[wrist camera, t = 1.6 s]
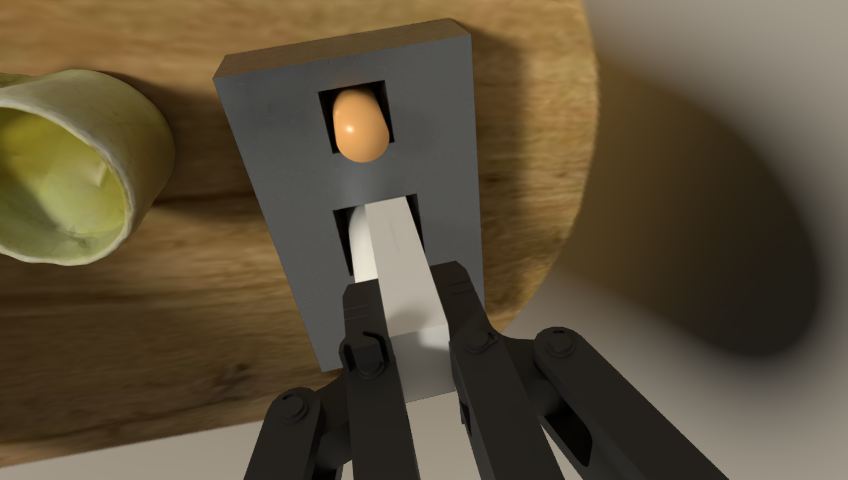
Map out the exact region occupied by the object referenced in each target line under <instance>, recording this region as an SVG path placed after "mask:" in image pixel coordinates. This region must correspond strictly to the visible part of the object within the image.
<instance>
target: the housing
mask: <svg viewBox="0 0 848 480" xmlns="http://www.w3.org/2000/svg"><path fill="white" fill-rule="evenodd" d="M213 81H214V84H215V87H216V90H217V92H218V95H219V98H220V100H221V103H222V106H223V108H224V111H225V114H226V116H227V119H228V122H229V124H230V127H231V130H232V132H233V135H234V138H235V140H236V143H237V146H238V148H239V151H240V154H241V156H242V159H243V162H244V165H245V167H246V170H247V173H248V175H249V178H250V181H251V183H252V186H253V189H254V191H255V194H256V197H257V199H258V202H259V205H260V207H261V210H262V213H263V215H264V218H265V221H266V223H267V226H268V229H269V231H270V234H271V237H272V240H273V242H274V245H275V248H276V250H277V253H278V256H279V258H280V261H281V264H282V266H283V269H284V272H285V274H286V277H287V280H288V282H289V285H290V288H291V290H292V293H293V296H294V298H295V301H296V304H297V307H298V309H299V312H300V315H301V317H302V320H303V323H304V325H305V328H306V331H307V333H308V336H309V339H310V341H311V344H312V347H313V349H314V352H315V355H316V357H317V360H318V363H319V365H320V368H321V371H322V372H326V371H330V370H334V369H338V368H343V366H342V362H341V359H340V356H339V353H338V351H339V346H340V343H341V342H342V340H343V339H344V338H345V337H346V336H345V324H344V312H343V311H344V310H343V300H342V296H343V294H344V292H345V290H346V288H347V285H349V284H353V283H355V277H354V269H353V261H352V254H351V246H350V239H349V237H345V235H344V231H343V227H342V223H341V219H340V215H339V211H338V209H342V208H347V207H352V206H357V205H362V204H367V203H371V202H376V201H381V200H386V199H391V198H396V197H401V196H406V195H409V196H410V203H411V209H412V216H413V221H414V224H415V227H416V230H417V233H418V236H419V239H420V242H421V245H422V248H423V251H424V254H425V257H426V260H427V263H428V266H432V265H437V264H442V263H446V262H451V261H455V260H456V261H457V262H458V263H460V264H461V265H462V266H463V267H464V268H466V270H467V272H468V274H469V276H470V279H471V282H472V283H473V286H474V288H475V291H476V292H477V295H478V297H479V299H480V302H481V304H482V306H483V309H484V311H485V300H484V280H483V261H482V241H481V221H480V201H479V181H478V161H477V142H476V122H475V102H474V82H473V62H472V43H471V34H470V33H468V32H467V31H466V30H464V29H463V28H462V27H460V26H459V25H458V24H456V23H455V22H454V21H452V20H451V19H450V18H446V19H440V20H434V21H428V22H422V23H416V24H410V25H404V26H398V27H392V28H386V29H380V30H374V31H368V32H362V33H356V34H350V35H344V36H338V37H332V38H326V39H320V40H314V41H308V42H302V43H296V44H290V45H284V46H278V47H272V48H266V49H260V50H254V51H248V52H242V53H236V54H230V55H225V57H224V59H223V61H222V63H221V64H220V66H219V68H218V70H217V71H216V73H215V75H214V77H213ZM375 81H379V87H380V93H381V99H382V105H383V111H384V114H382V115H383V118H384V120H385V123H386V126H387V128H388V132H389V143H388V146H387V148H386V150H385V151H384V153H383V154H382V155H381V156H380V157H378V158H377V159H375V160H373V161H370V162H355V161H352V160H350V159H348V158H347V157H345V156H344V155H343V154H342V153H341V152H340V150H339V148H338V146H337V142H336V135H335V128H334V123H332V124H329V120H328V116H327V112H326V108H325V103H324V99H323V95H322V91H324V90H329V89H335V88H341V87H346V86H352V85H358V84H363V83H369V82H375Z"/></svg>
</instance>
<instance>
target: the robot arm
mask: <svg viewBox="0 0 848 480" xmlns="http://www.w3.org/2000/svg"><path fill="white" fill-rule="evenodd" d="M364 205H365V210H366V215H367V221H368V226H369V232H370V237H371V242H372V248H373V253H374V259H375V264H376V269H377V275H378V278H376V279H372V280H367V281H362V282H358V283H353V284H349V285H347V288H346V290H345V292H344V294H343V296H342V300H343V310H344V311H343V312H344V324H345V336H346V337H345V338H344V339H343V340H342V342H341V343H340V346H339V351H338V353H339V356H340V359H341V362H342V366H343V369H344V370H343V372H342V373H341V375H340V376H339V377H338V378H337V379H335V380H334V381H333V382H331V383H330V384H328V385H327V386H325V387H323V388H321V389H319V390H317V391H315V392H314V391H313V390H311V389H310V388H303V387H298V388H293V389H290V390H288V391H286V392H284V393H282V394H280V395H279V396H278V397H277V398H276V399H275V400H274V401H273V402H272V404H271V405H270V407H269V409H268V411H267V413H266V416H265V419H264V422H263V425H262V428H261V431H260V434H259V437H258V439H257V442H256V445H255V448H254V451H253V454H252V457H251V459H250V462H249V465H248V468H247V471H246V474H245V477H244V480H341V477H342V471H343V465H344V464H345V463H347V462H348V461H350V460H352V464H353V477H354V480H421V479H420V474H419V469H418V464H417V459H416V454H415V449H414V444H413V439H412V433H411V429H410V424H409V419H408V415H407V410H406V405H405V403H408V402H412V401H416V400H420V399H424V398H428V397H433V396H437V395H441V394H445V393H449V392H453V391H456V390H457V393H458V396H459V404H460V413H461V422H462V424H465V427H466V430H467V434H468V437H469V440H470V443H471V447H472V450H473V454H474V457H475V460H476V464H477V467H478V470H479V474H480V477H481V480H565V479H564V477H563V474H562V472H561V470H560V467H559V465H558V463H557V461H556V458H555V456H554V454H553V452H552V449H551V447H550V445H549V443H548V440H547V438H546V436H545V434H544V432H543V429H542V427H541V425H542V426H543V428H544V429H545V430H546V431H547V433H548V434H549V436H550V437H551V438H552V440H553V441H554V442H555V443H556V445H557V446H558V447H559V449H560V450H561V451H562V452H563V454H564V455H565V457H566V458H567V459H568V460H569V462H570V463H571V464H572V466H573V467H574V468H575V470H576V471H577V472H578V474H579V475H580V476H581V478H582V479H583V480H729V479H728V478H727V477H726V476H725V475H724V474H723V473H722V472H721V471H720V470H718V468H717V467H716V466H715V465H714V464H713V463H712V462H711V461H709V460H708V459H707V458H706V457H705V456H704V455H703V454H702V453H701V452H700V451H699V450H698V449H697V448H696V447H695V446H694V445H693V444H692V443H691V442H690V441H689V440H688V439H687V438H686V437H685V436H684V435H683V434H681V433H680V431H679V430H678V429H676V427H675V426H673V425H672V424H671V423H670V422H669V421H668V420H667V419H666V418H665V417H664V416H663V415H662V414H661V413H660V412H659V411H658V410H657V409H656V408H655V407H654V406H653V405H652V404H651V403H650V402H649V401H648V400H647V399H646V398H645V397H644V396H643V395H641V394H640V392H638V391H637V390H636V389H635V388H634V387H633V386H632V385H631V384H630V383H629V382H628V381H627V380H626V379H625V378H624V377H623V376H622V375H621V374H620V373H619V372H618V371H617V370H616V369H615V368H614V367H613V366H612V365H611V364H610V363H609V362H608V361H607V360H606V359H604V358H603V357H602V356H601V355H600V354H599V353H598V352H597V351H596V350H595V349H594V348H593V347H592V346H591V345H590V344H589V343H588V342H587V341H586V340H585V339H584V338H583V337H582V336H581V335H579V334H578V333H576V332H575V331H573V330H571V329H567V328H565V327H550V328H547V329H544V330H542V331H541V332H540V333H538V334H537V336H536V338H535V340H528V339H514V338H509V337H506V336H503V335H502V334H500V333H498V332H497V331H496V330H495V329H494V328H493V327H492V326H491V324H490V322H489V320H488V318H487V315H486V313H485V311H484V309H483V306H482V304H481V302H480V299H479V297H478V295H477V292H476V291H475V288H474V286H473V283H472V282H471V279H470V276H469V274H468V272H467V270H466V268H464V267H463V266H462V265H461V264H460V263H458V262H457V261H456V260H455V261H451V262H446V263H442V264H437V265H432V266H428V263H427V260H426V257H425V254H424V251H423V248H422V245H421V242H420V239H419V236H418V233H417V230H416V227H415V224H414V221H413V218H412V215H411V212H410V209H409V206H408V203H407V200H406V197H405V196H404V197H399V198H394V199H389V200H384V201H379V202H374V203H369V204H364ZM455 386H456V389H455ZM540 424H541V425H540Z"/></svg>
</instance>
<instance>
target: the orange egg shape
mask: <svg viewBox="0 0 848 480" xmlns="http://www.w3.org/2000/svg"><path fill="white" fill-rule="evenodd" d="M331 104H332V112H333V120H334V128H335V135H336V142H337V146H338V148H339V150H340V152H341V153H342V154H343V155H344V156H345V157H347V158H348V159H350V160H352V161H355V162H370V161H373V160H375V159H377V158H378V157H380V156H381V155H382V154H383V153H384V151H385V150H386V148H387V146H388V143H389V132H388V128H387V126H386V123H385V120H384V118H383V115H382V112H381V110H380V107H379V104H378V102H377V99H376V96H375V94H374V92H373V90H372V89H371V87H370V86H369V85H367V84H366V83H363V84H358V85H352V86H346V87H341V88H336V89H335V90H334V92H333V94H332V99H331Z"/></svg>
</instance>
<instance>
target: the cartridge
mask: <svg viewBox="0 0 848 480" xmlns="http://www.w3.org/2000/svg"><path fill="white" fill-rule="evenodd" d="M401 197H402V196H401ZM396 198H399V197H396ZM391 199H394V198H391ZM386 200H389V199H386ZM381 201H384V200H381ZM376 202H379V201H376ZM371 203H374V202H371ZM367 204H369V203H367ZM346 216H347V223H348V231H349V239H350V246H351V254H352V261H353V269H354V277H355V283H358V282H362V281H367V280H372V279H376V278H378V275H377V269H376V264H375V259H374V253H373V248H372V242H371V237H370V232H369V226H368V221H367V215H366V210H365V205H364V204H362V205H357V206H352V207H347V208H346Z"/></svg>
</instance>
